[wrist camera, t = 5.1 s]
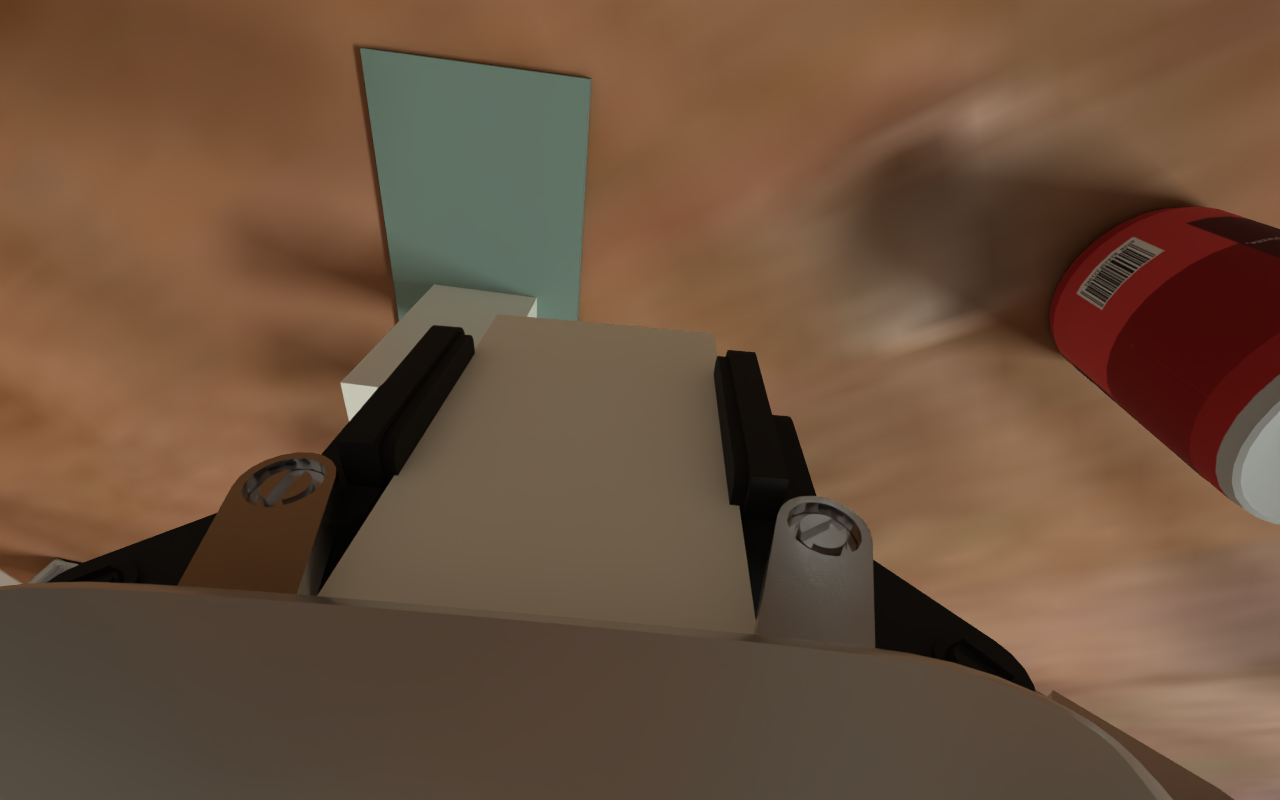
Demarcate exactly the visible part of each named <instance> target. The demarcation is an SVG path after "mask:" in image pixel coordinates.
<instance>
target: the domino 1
mask: <svg viewBox="0 0 1280 800" xmlns="http://www.w3.org/2000/svg"><path fill="white" fill-rule="evenodd" d="M497 314H501V315H513V316H524V317H535V318H537V298H536V297H529V296H521V295H513V294H505V293H498V292H490V291H482V290H474V289H466V288H459V287H451V286H443V285H435V284H434V285H433V286H432V287H431V288H430V289H429V290H428V291H427V292H426V294H425V295H424V296H423V297H422V298H421V299H420V300H419V301H418V302H417V303H416V304H415V305H414V306H413V307H412V308H411V309H410V310H409V311H408V312H407V313H406V314H405V316H404V317H403V318H402V319H401V320H400V321H399V322H398V323H397V324H396V325H395V326H394V327H393V328H392V329H391V330H390V331H389V332H388V333H387V334H386V335H385V336H384V337H383V339H382V340H381V341H380V342H379V343H378V344H377V345H376V346H375V347H374V348H373V349H372V350H371V351H370V352H369V353H368V354H367V355H366V356H365V357H364V358H363V359H362V361H361V362H360V363H359V364H358V365H357V366H356V367H355V368H354V369H353V370H352V371H351V372H350V373H349V374H348V375H347V376H346V377H345V378H344V379H343V380H342V381H341V382H340V383H341V387H342V392H343V396H344V401H345V405H346V410H347V414H348V419H349V422H350V420H351V419H352V418H353V417H354V416H355V414H356V413H357V412H358V411H359V410H360V409H361V407H362V406H363V405H364V404H365V403H366V402H367V400H368V399H369V398H370V397H371V396H372V394H373V393H374V392H375V391H376V390H377V389H378V387H379V386H381V385H382V384H383V383H384V382H385V381H386V380H387V378H388V377H389V376H390V375H391V374H392V372H393V371H394V370H395V369H396V368H397V367H398V365H399V364H400V363H401V362H402V361H403V359H404V358H405V357H406V356H407V355H408V354H409V352H410V351H411V350H412V349H413V348H414V346H415V345H416V344H417V343H418V342H419V341H420V339H421V338H422V337H423V336H424V335H425V333H426V332H427V331H428V330H429V329H430V328H431V327H432V326H433V325H440V326H451V327H462V328H463V330H464V332H465V335H471V336H472V337H473V340H474V348H475V349H476V347H477V345H478V344H479V342H480V341H481V339H482V338H483V336H484V335H485V333H486V331H487V330H488V328H489V327H490V325H491V324H492V322H493V320H494V319H495V317H496V316H497Z"/></svg>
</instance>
